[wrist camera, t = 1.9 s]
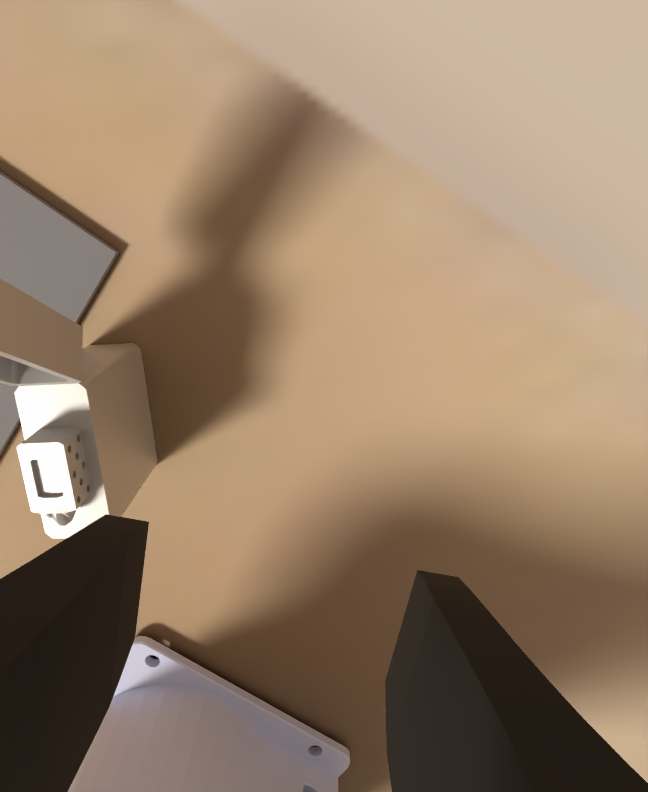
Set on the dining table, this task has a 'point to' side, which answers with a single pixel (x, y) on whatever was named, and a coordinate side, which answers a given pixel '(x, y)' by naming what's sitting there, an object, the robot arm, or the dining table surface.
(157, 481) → the dining table surface
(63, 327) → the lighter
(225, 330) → the dining table surface
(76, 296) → the mat
